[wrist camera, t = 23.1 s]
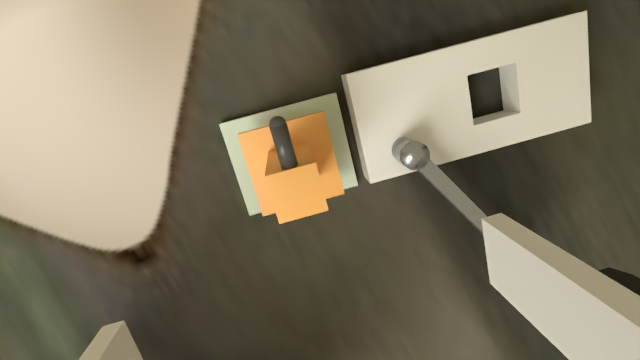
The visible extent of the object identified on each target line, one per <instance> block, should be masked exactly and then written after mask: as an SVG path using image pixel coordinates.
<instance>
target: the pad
mask: <svg viewBox="0 0 640 360" xmlns="http://www.w3.org/2000/svg"><path fill="white" fill-rule="evenodd" d="M319 111H324V113H325V117H326V121H327V125H328V129H329V133H330V137H331V141H332V145H333V149H334V153H335V157H336V161H337V165H338V169H339V173H340V177H341V181H342V185H343V189H347V188H351V187H354V186H358V183H357V179H356V175H355V171H354V166H353V162H352V158H351V154H350V149H349V145H348V141H347V137H346V132H345V128H344V124H343V120H342V115H341V111H340V107H339V103H338V98H337V94H336V93H331V94H327V95H324V96H320V97H316V98H312V99H309V100H305V101H301V102H298V103H294V104H290V105H286V106H283V107H279V108H275V109H271V110H268V111H264V112H260V113H257V114H253V115H249V116H245V117H242V118H238V119H234V120H230V121H227V122H223V123H220V124H219V126H220V129H221V132H222V135H223V138H224V141H225V144H226V147H227V150H228V153H229V156H230V159H231V162H232V165H233V168H234V171H235V174H236V177H237V180H238V183H239V186H240V189H241V192H242V195H243V198H244V200H245V203H246V206H247V209H248V212H249V215H254V214H257V213H261V212H262V211H261V208H260V205H259V202H258V199H257V196H256V193H255V190H254V187H253V184H252V180H251V177H250V174H249V171H248V168H247V165H246V162H245V159H244V156H243V153H242V149H241V146H240V143H239V140H238V137H237V134H238V133H241V132H245V131H248V130H252V129H256V128H260V127H263V126H267V125H269V122H270V120H271V119H272V118H273V117H275V116H281V117H283V118H284V119H285V120H289V119H293V118H297V117H300V116H304V115H308V114H311V113H315V112H319Z"/></svg>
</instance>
